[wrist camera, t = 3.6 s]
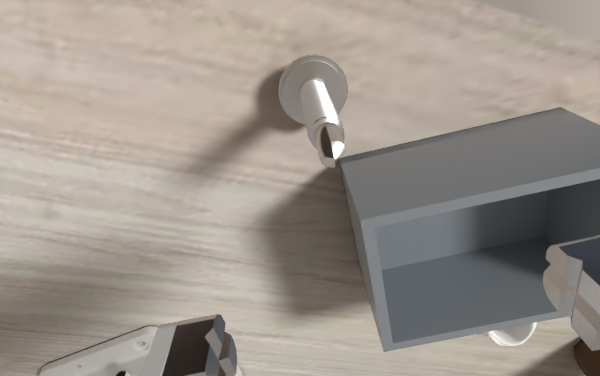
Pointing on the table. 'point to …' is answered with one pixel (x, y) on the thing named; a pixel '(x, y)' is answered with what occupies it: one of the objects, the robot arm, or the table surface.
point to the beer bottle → (587, 359)
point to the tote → (471, 223)
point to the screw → (316, 102)
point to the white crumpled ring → (511, 334)
